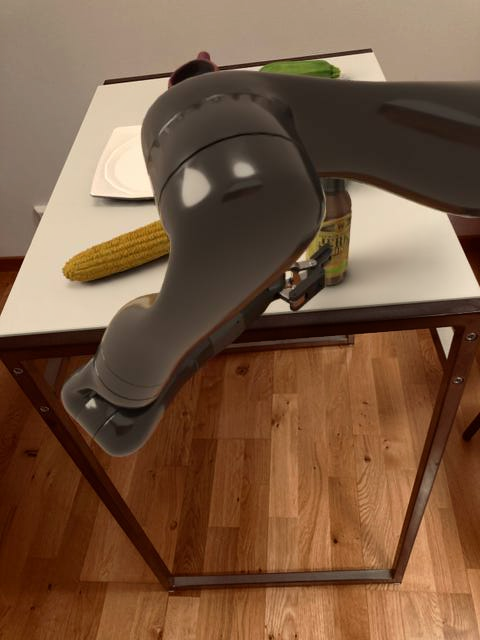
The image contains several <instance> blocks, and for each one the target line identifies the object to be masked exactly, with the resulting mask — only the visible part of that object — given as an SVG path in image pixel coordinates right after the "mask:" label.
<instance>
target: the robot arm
mask: <svg viewBox="0 0 480 640" xmlns="http://www.w3.org/2000/svg"><path fill="white" fill-rule="evenodd" d="M141 125H142V127H141V147H142V152H143V157H144V162H145V166H146V170H147V173H148V176H149V180H150V184H151V188H152V192H153V195H154V199H153V200H154V203H155V206H156V210H157V213H158V217H159V220H160V221H161V224H162V227H163V230H164V233H165V235H166V237H167V239H168V241H169V242H170V253H169V254H168V262H167V266H166V269H165V274H164V278H163V281H162V284H161V287H160V290H159V292H154V293H153V292H151V293H148V294H143V295H141V296H138V297H135V298H134V299H132V300H130V301H128V302H127V303H126V304H124V305H123V306H122V307H120V308H119V309H118V310H117V311H116V313H115V315H114V316H113V317H112V318H111V320H110V322H109V323H108V325H107V327H106V329H105V331H104V334H103V336H102V338H101V340H100V343H99V346H98V347H97V350H96V352H95V354H94V355H93V356H92V358H90V359H88V360H87V361H86V362H84V363H83V364H82V365H80V366H79V367H77V368H76V369H75V370H73V372H72V373H71V374H69V375H68V377H67V378H66V379H65V380H64V382H63V384H62V387H61V388H60V389H61V390H60V398H61V402H62V405H63V407H64V409H65V410H66V412H67V413H68V414H69V415H70V416H71V418H73V419H74V421H75V422H76V423H78V425H80V426H81V428H82V429H83V430H84V431H85V432H86V433H87V434H88V435H89V437H91V439H92V440H93V441H94V442H95V443H96V444H97V445H98V446H99V447H100V448H101V449H102V451H104V452H105V453H106V454H107V455H109V456H110V457H113V458H124V457H128V456H131V455H133V454H135V453H137V452H139V451H140V450H141V449H142V448H143V447H144V446H146V445H147V443H148V442H149V440H150V439H151V437H152V436H153V435H154V433H155V431H156V429H157V428H158V426H159V424H160V422H161V421H162V419H163V418H164V416H165V414H166V412H167V410H168V409H169V407H170V406H171V404H172V403H173V401H174V400H175V398H176V397H177V395H178V394H179V392H180V391H181V390H182V389H183V388H184V386H185V385H186V384H187V383H188V382H189V381H190V380H191V379H192V378H193V376H195V375H196V374H197V373H198V372H199V371H200V370H201V369H202V368H203V367H204V366H205V365H206V364H207V363H209V362H210V360H212V359H213V358H214V357H215V356H217V355H218V354H219V353H220V352H223V351H224V350H225V349H227V348H228V347H229V346H230V345H231V344H232V343H233V342H234V341H235V340H236V339H238V337H240V336H241V335H242V334H243V332H245V331H246V330H247V329H248V328H249V327H251V325H253V324H254V323H255V322H256V321H257V320H258V319H259V318H260V317H261V316H262V315H263V314H264V313H265V312H266V311H267V310H268V307H269V306H270V305H271V304H272V303H273V302H275V301H278V300H282V301H284V302H285V303H286V304H288V305H289V310H290V311H292V312H299V311H300V310H301V309H302V308H303V307H305V306H306V305H307V304H308V303H310V301H311V300H313V298H315V297H316V296H317V295H318V294H319V293H321V292H322V291H323V290H324V289H325V288H326V286H327V285H326V271H325V269H324V268H325V267H326V266H327V265H328V264H329V263H330V262H331V261H332V251H333V250H332V245H331V244H328V243H325V244H324V245H323V246H322V247H321V248H320V249H319V250H318V251H317V252H315V253H314V254H313V255H312V256H311V257H310V260H306V259H305V260H301V261H299V259H300V258H301V257H302V256H303V255H304V253H306V250H307V249H308V248H309V246H310V245H311V244H312V242H313V241H314V240H315V238H316V236H317V234H318V233H319V231H320V229H321V227H322V224H323V221H324V218H325V214H326V199H325V194H324V190H323V187H322V184H321V181H320V179H319V178H329V179H342V180H348V181H349V182H355V183H358V184H362V185H365V186H367V187H371V188H374V189H377V190H380V191H382V192H385V193H387V194H390V195H392V196H395V197H398V198H401V199H403V200H406V201H409V202H412V203H413V204H417V205H419V206H421V207H425V208H428V209H430V210H434V211H437V212H440V213H443V214H447V215H451V216H457V217H463V218H468V219H469V218H470V219H477V218H478V219H480V79H476V80H475V79H473V80H394V81H392V80H391V81H390V80H387V81H384V80H379V81H377V80H375V81H374V80H357V79H356V80H355V79H354V80H353V79H341V78H337V79H333V78H323V77H314V76H304V75H295V74H285V73H275V72H264V71H259V70H248V69H228V70H227V69H226V70H219V71H217V72H209V73H205V74H202V75H198V76H195V77H191V78H188V79H186V80H184V81H182V82H180V83H178V84H176V85H174V86H172V87H171V88H169V89H168V88H167V90H165V91H164V92H162V93H161V94H160V95H159V96H158V97H157V98H156V99H155V100H154V101H153V102H152V104H151V105H150V106H149V108H148V109H147V112H146V113H145V116H144V118H143V120H142V124H141ZM306 270H307V272H306ZM304 271H305V272H304ZM287 272H290V277H289V278H287Z"/></svg>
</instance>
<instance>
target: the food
mask: <svg viewBox="0 0 480 640" xmlns="http://www.w3.org/2000/svg"><path fill="white" fill-rule="evenodd" d="M169 254H170V242H169V241H168V239H167V237H166V235H165V233H164V230H163V227H162V224H161V221H160V219H159V220H155V221H154V222H149V223H148V224H146V225H144V226H140V227H139V228H136V229H134V230H132V231H129V232H125V233H121V234H120V235H118V236H115V237H112V239H109V240H106V241H104V242H103V241H102V242H101V243H97V244H95V245H92V246H91V247H89V248H86V249H85V250H83V251H80V252H79V253H77V254H75V255H73V256H72V257H71V258H69V259H68V261H65V265H64V266H63V267H62V268H61V273H62V274H63V275H62V276H64V277H65V279H67V280H69V281H71V282H81V283H82V282H88V281H93V280H97V279H102V278H105V277H108V276H110V275H113V274H117V273H120V272H124V271H126V270H129V269H130V270H131V269H133V268H135V267H138V266H142V265H143V264H146V263H148V262H151V261H154V260H156V259H158V258H161V257H164V255H169Z"/></svg>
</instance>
